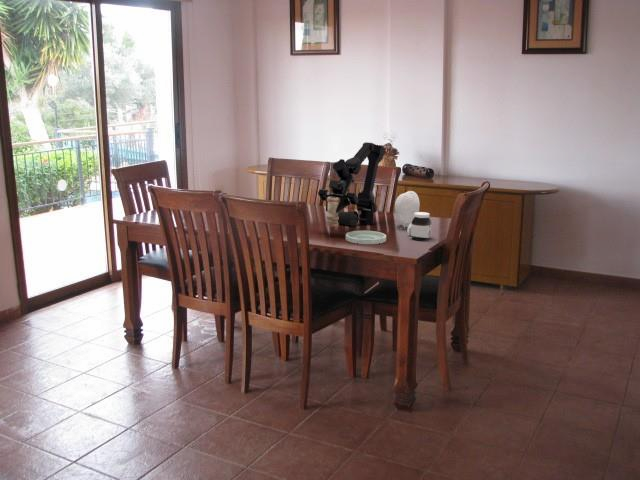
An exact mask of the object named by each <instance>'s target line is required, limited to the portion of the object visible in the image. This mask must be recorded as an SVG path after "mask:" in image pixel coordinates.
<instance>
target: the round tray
mask: <svg viewBox="0 0 640 480" xmlns="http://www.w3.org/2000/svg"><path fill="white" fill-rule="evenodd" d="M345 241H347V242H349V243H353V244H357V243H358V244H359V245H378V244H379V243H380V244H384V243H386V242H387V234H385V233H383V232H379V231H377V230H376V231H374V230H353V231H348V232H346V233H345Z"/></svg>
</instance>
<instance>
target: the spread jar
mask: <svg viewBox="0 0 640 480" xmlns="http://www.w3.org/2000/svg"><path fill="white" fill-rule="evenodd" d="M413 213H414V212H413ZM408 225H409V224H408ZM406 228H407V229H406V232H407V234H408V235H410V236H411V238H412V240H413V239H414V240H415V239H419V240H418V241H425V240H424V239H428V238H429V239H430V237H431V235H432V220H431V218H430V213H429V212H425V211H419V212H416V213H414V218H413V220H412V223H411V224H410V225H409V226H408V227H406ZM429 239H428V240H429Z"/></svg>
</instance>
